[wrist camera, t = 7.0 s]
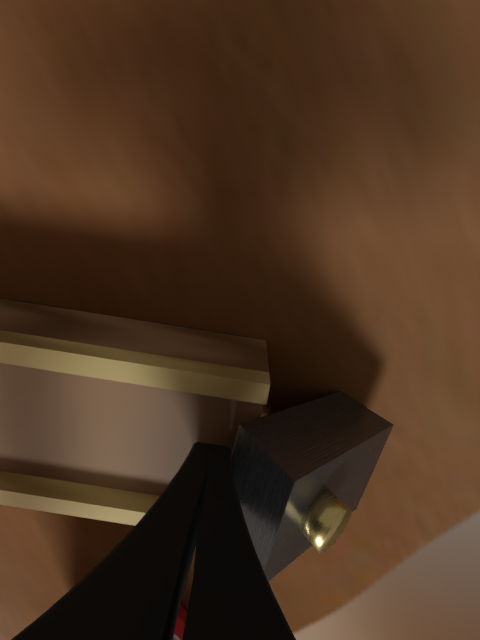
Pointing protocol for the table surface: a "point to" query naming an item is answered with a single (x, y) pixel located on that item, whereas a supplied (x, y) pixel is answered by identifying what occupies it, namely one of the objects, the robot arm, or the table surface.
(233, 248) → the table surface
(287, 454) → the grey block with knob
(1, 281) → the table surface
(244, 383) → the wooden channel tray
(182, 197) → the table surface
